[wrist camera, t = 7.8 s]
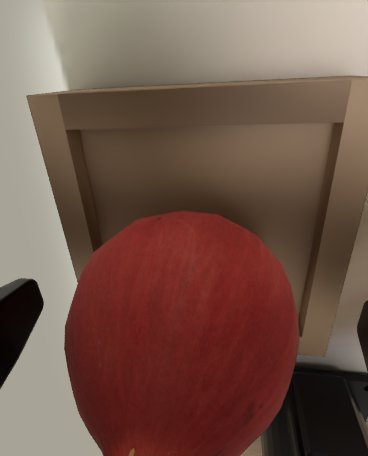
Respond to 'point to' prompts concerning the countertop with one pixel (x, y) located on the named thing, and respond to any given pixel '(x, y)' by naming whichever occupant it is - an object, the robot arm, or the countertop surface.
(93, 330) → the onion
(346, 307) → the countertop surface
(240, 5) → the countertop surface
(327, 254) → the brown wooden tray
